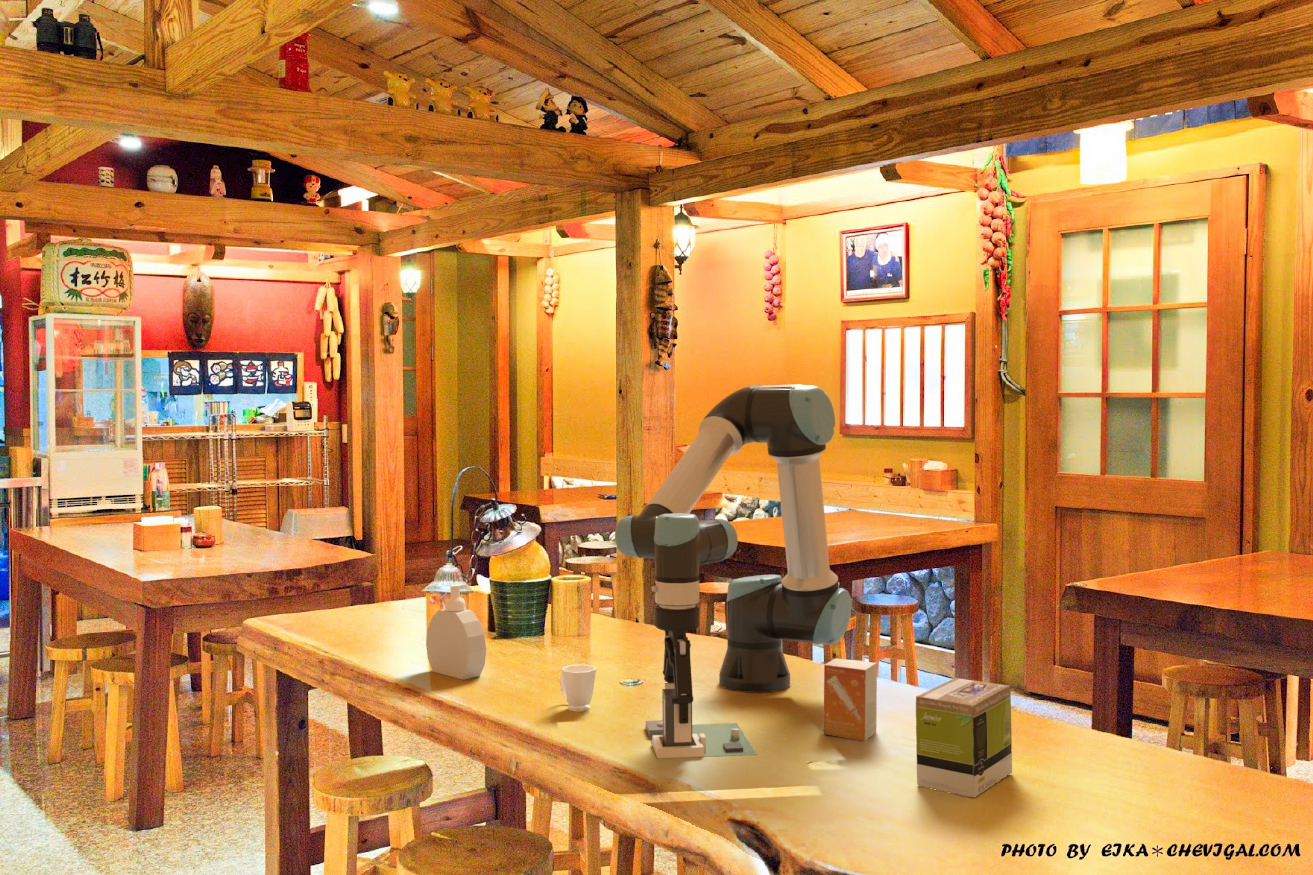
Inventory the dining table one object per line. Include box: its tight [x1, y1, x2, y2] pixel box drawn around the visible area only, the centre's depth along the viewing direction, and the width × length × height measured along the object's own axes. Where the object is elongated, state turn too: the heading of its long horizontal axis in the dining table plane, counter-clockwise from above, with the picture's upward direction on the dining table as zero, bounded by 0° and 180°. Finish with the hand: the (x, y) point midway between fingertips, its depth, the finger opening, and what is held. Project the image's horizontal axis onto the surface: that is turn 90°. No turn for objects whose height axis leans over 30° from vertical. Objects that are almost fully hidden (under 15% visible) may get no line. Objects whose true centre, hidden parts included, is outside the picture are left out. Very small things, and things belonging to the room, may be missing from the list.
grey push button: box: [645, 719, 663, 739], centre depth 205 cm, size 6×10×3 cm, turn 7°
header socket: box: [651, 733, 706, 759], centre depth 196 cm, size 9×8×2 cm
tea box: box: [915, 677, 1013, 798], centre depth 183 cm, size 15×10×15 cm
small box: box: [823, 657, 878, 742], centre depth 209 cm, size 8×6×13 cm
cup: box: [559, 663, 597, 713], centre depth 228 cm, size 7×10×8 cm
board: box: [644, 722, 758, 760], centre depth 202 cm, size 17×19×3 cm
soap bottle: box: [425, 583, 487, 681], centre depth 256 cm, size 16×5×20 cm, turn 46°
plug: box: [661, 688, 693, 747], centre depth 196 cm, size 4×4×10 cm
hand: (677, 730), depth 196 cm, fingers open, 12 cm apart
